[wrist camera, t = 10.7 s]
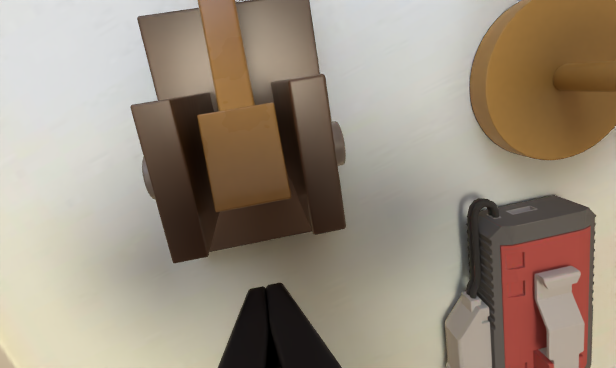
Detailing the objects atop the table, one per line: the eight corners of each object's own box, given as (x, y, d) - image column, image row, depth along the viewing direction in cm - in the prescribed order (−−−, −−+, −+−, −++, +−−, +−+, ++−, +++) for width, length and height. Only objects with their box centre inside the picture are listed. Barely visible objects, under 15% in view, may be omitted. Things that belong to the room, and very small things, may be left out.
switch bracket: (143, 20, 19) (11, -57, 9) (304, -3, 20) (363, -100, 9) (199, 246, 22) (153, 388, 12) (337, 218, 23) (408, 330, 12)
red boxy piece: (428, 201, 23) (450, 459, 29) (467, 227, 19) (485, 523, 24) (563, 173, 24) (561, 428, 29) (629, 192, 20) (613, 486, 25)
